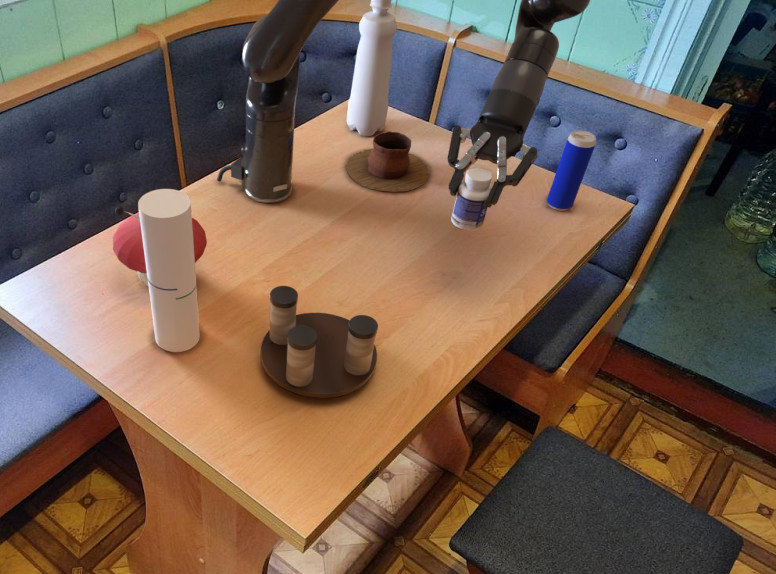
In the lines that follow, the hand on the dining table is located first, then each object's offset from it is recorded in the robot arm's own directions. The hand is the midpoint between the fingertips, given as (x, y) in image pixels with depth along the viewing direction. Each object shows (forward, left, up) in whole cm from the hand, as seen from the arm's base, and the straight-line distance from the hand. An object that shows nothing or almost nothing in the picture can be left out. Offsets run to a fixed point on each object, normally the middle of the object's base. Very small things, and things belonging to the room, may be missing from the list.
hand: (470, 200), depth 115 cm
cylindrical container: (-33, -36, -18) cm, 52 cm away
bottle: (-38, +44, -18) cm, 61 cm away
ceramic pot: (-26, +30, -18) cm, 44 cm away
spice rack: (-11, -29, -16) cm, 35 cm away
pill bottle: (0, +2, -5) cm, 6 cm away
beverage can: (+9, +37, -18) cm, 43 cm away
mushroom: (-44, -25, -18) cm, 53 cm away
